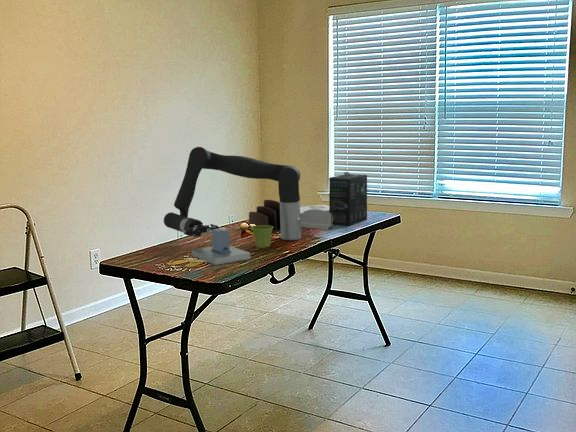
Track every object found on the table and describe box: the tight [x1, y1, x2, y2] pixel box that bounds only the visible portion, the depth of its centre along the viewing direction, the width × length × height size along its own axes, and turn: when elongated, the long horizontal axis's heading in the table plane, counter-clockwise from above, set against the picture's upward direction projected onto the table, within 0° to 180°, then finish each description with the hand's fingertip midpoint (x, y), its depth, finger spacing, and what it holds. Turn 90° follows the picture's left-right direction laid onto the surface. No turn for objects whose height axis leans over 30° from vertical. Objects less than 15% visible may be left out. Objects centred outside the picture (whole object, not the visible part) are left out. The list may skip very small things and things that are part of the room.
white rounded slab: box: [300, 204, 329, 219], centre depth 346 cm, size 19×33×5 cm, turn 116°
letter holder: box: [248, 199, 280, 233], centre depth 316 cm, size 10×20×14 cm, turn 31°
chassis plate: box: [191, 245, 251, 266], centre depth 259 cm, size 20×16×2 cm
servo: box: [211, 227, 231, 254], centre depth 257 cm, size 10×4×12 cm, turn 36°
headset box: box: [328, 171, 368, 227], centre depth 329 cm, size 22×12×26 cm, turn 149°
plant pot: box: [251, 225, 273, 249], centre depth 276 cm, size 9×9×9 cm
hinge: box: [301, 209, 334, 230], centre depth 319 cm, size 17×5×10 cm, turn 62°
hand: (209, 232), depth 265 cm, fingers open, 8 cm apart
